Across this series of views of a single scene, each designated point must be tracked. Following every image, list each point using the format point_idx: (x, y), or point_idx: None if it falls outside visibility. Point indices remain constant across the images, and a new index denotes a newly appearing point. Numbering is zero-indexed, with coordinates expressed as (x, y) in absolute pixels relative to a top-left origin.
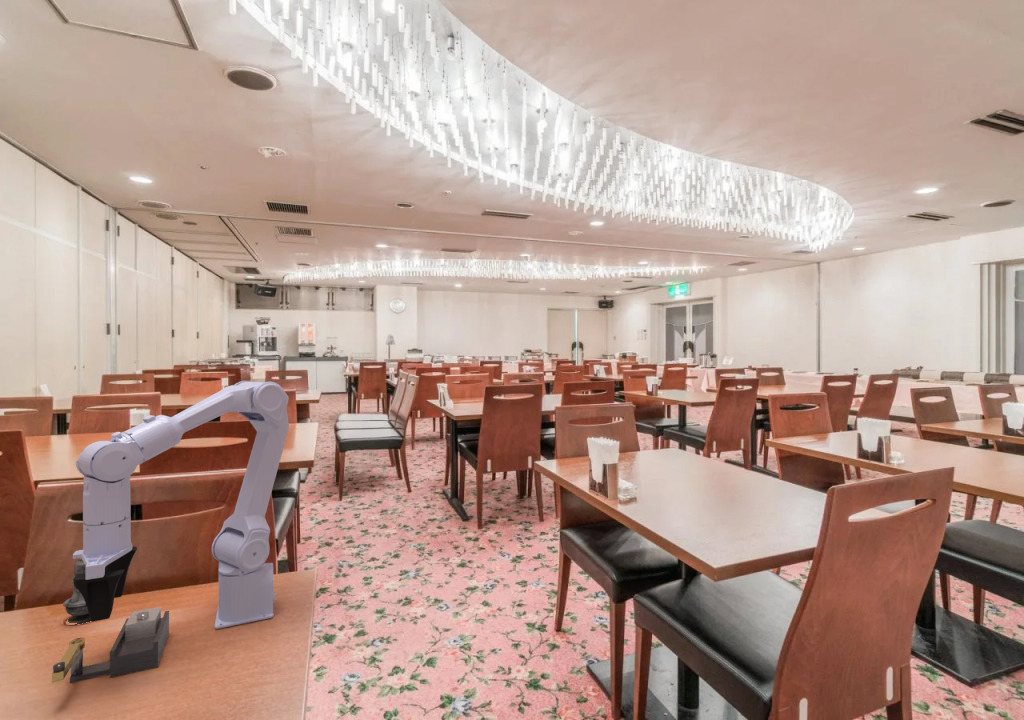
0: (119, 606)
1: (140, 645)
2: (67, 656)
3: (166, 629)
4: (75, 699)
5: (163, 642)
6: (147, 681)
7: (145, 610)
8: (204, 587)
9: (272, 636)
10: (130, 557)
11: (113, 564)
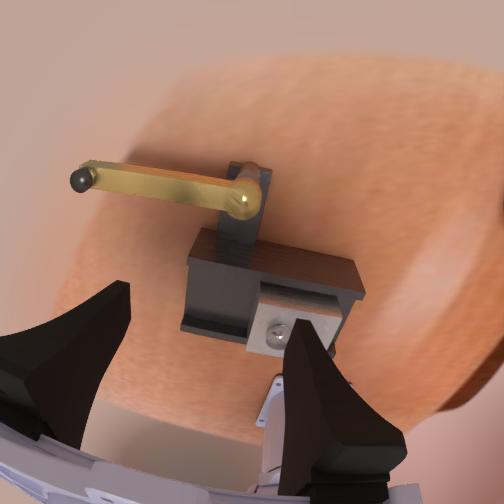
0: None
1: (218, 299)
2: (149, 186)
3: None
4: None
5: None
6: (151, 278)
7: (323, 339)
8: (464, 368)
9: (197, 410)
10: (279, 487)
11: (298, 446)
